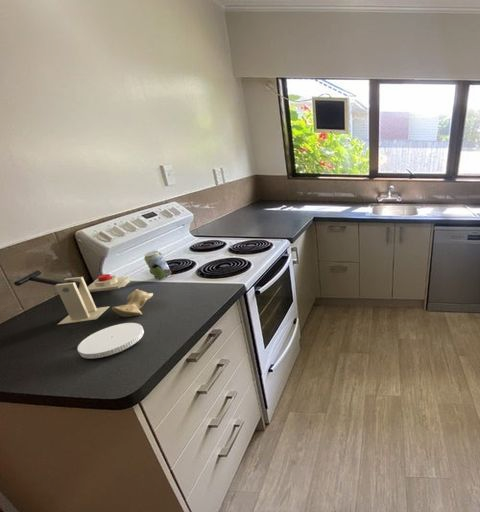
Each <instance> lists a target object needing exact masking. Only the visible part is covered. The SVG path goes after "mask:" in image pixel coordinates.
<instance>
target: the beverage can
mask: <svg viewBox="0 0 480 512" xmlns="http://www.w3.org/2000/svg"><path fill="white" fill-rule="evenodd" d="M143 259H144V262H145V263H146V265H147V267H148V268H149V270H150V271H151V273H152V275H153V277H154V278H155V280H159V281H160V280H165V279H168V278H169V277H170V276H171V275H172V274H173V272H172V270H171V269H170V266H169V265H168V262H167V261H166V259H165V257H164V256H163V253H161V251H160V252H159V250H152V251H149V252H147V253H145V254H144V258H143Z"/></svg>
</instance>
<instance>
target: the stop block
mask: <svg viewBox="0 0 480 512" xmlns="http://www.w3.org/2000/svg"><path fill="white" fill-rule="evenodd" d="M110 276H111V278H112V279H110V280H107V281H101V282H100V281H99V279H98V278H96V279H95V280H93V282H92V283H90V284H89V285H87V288H88V290H89V292H90V293H96V292H103V291H112V290H120V289H121V288H124V287H126V286H127V285H128V284H129V283H131V279H130V276H121V277H117V276H116V275H112V274H110Z"/></svg>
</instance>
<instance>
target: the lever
mask: <svg viewBox="0 0 480 512" xmlns="http://www.w3.org/2000/svg"><path fill="white" fill-rule="evenodd" d="M41 274H42V271H40V270H35V271H33V272H31V273H29V274H27V275H25V276H23V277H21V278H20V279H17V280H16V281H14V282H13V285H14V286H16V287H19V286H22V285H24V284H25V283H27V282H34V283H35V282H36V283H41V284H46V285H51V286H55V285H57V284H63V283H72V282H75V281H70V280H68V281H67V282H64V281H59V280H54V279H49V278H43V277H39V276H40V275H41ZM75 284H76V286H77V288H78V289H79V285H80V282H75Z"/></svg>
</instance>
